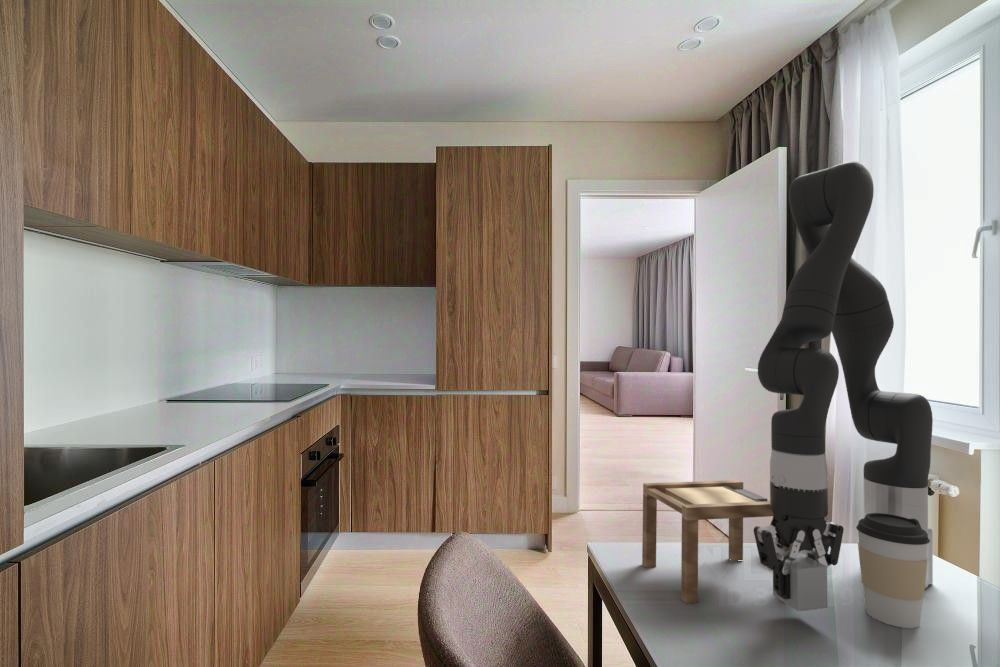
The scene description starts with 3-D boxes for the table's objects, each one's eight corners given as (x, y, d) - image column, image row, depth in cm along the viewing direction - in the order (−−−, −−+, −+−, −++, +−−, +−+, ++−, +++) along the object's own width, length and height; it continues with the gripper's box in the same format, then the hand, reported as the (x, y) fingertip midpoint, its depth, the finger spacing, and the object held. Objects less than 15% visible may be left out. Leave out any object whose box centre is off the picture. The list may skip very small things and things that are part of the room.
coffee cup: (864, 623, 77) (864, 521, 77) (849, 597, 85) (849, 505, 86) (940, 637, 73) (940, 531, 74) (917, 608, 82) (916, 512, 82)
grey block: (801, 591, 80) (800, 552, 81) (827, 607, 76) (827, 566, 76) (773, 594, 79) (772, 555, 80) (797, 611, 75) (797, 569, 75)
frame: (737, 558, 101) (738, 480, 101) (796, 594, 86) (796, 503, 86) (642, 564, 97) (643, 483, 97) (686, 603, 82) (687, 507, 82)
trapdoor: (698, 523, 85) (698, 505, 85) (664, 503, 96) (664, 487, 96) (777, 519, 88) (777, 502, 88) (736, 500, 99) (736, 485, 99)
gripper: (819, 472, 83) (820, 579, 83) (739, 477, 80) (740, 587, 80) (860, 484, 76) (861, 602, 75) (774, 490, 73) (775, 612, 72)
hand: (799, 594), depth 78 cm, fingers closed on grey block, 5 cm apart
